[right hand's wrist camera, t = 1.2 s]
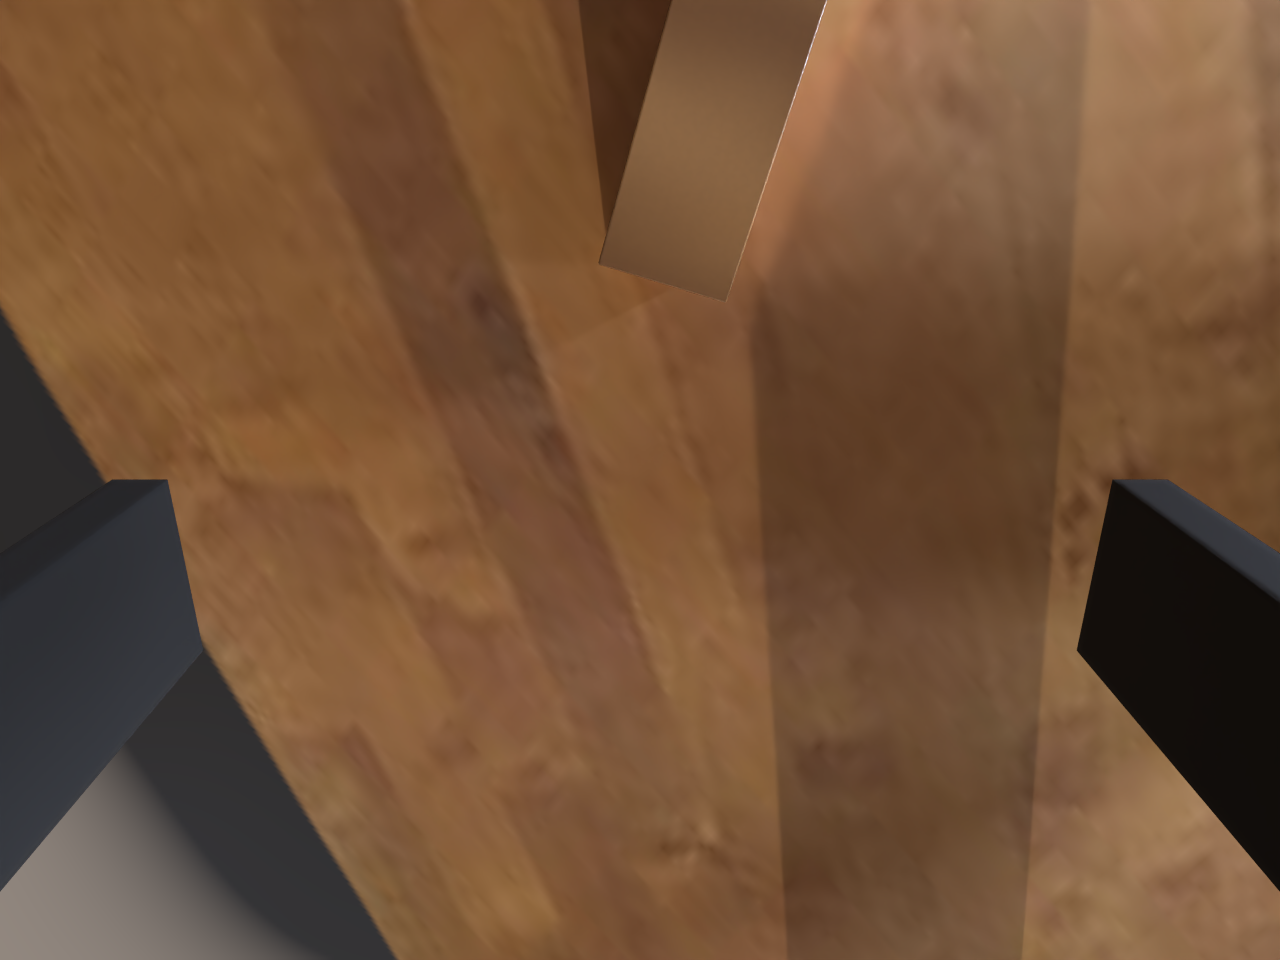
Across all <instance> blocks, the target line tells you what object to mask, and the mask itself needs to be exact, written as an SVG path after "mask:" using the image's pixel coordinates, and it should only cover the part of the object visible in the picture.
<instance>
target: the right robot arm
mask: <svg viewBox="0 0 1280 960" xmlns="http://www.w3.org/2000/svg"><path fill="white" fill-rule="evenodd" d="M202 651H203V647H202V642H201V637H200V633H199V628H198V623H197V618H196V614H195V609H194V604H193V599H192V594H191V590H190V585H189V580H188V575H187V571H186V566H185V561H184V556H183V552H182V547H181V542H180V537H179V532H178V528H177V523H176V518H175V513H174V509H173V504H172V499H171V494H170V489H169V485H168V480H111V481H109V482H108V483H106V484H105V485H103V486H102V487H100V488H99V489H97V490H96V491H94V492H93V493H91V494H90V495H88V496H87V497H85V498H84V499H82V500H81V501H79V502H78V503H76V504H75V505H73V506H72V507H70V508H68V509H67V510H65V511H64V512H62V513H61V514H59V515H58V516H56V517H55V518H53V519H52V520H50V521H49V522H47V523H46V524H44V525H43V526H41V527H40V528H38V529H37V530H35V531H34V532H32V533H31V534H29V535H27V536H26V537H24V538H23V539H21V540H20V541H18V542H17V543H15V544H14V545H12V546H11V547H9V548H8V549H6V550H5V551H3V552H2V553H0V891H1V890H2V889H3V888H4V886H5V885H6V884H7V883H8V881H9V880H10V879H11V878H12V877H13V876H14V874H15V873H16V872H17V871H18V870H19V869H20V867H21V866H22V865H23V864H24V863H25V861H26V860H27V859H28V858H29V857H30V855H31V854H32V853H33V852H34V851H35V850H36V848H37V847H38V846H39V845H40V844H41V842H42V841H43V840H44V839H45V838H46V836H47V835H48V834H49V833H50V832H51V830H52V829H53V828H54V827H55V826H56V825H57V823H58V822H59V821H60V820H61V819H62V817H63V816H64V815H65V814H66V813H67V812H68V810H69V809H70V808H71V807H72V806H73V804H74V803H75V802H76V801H77V800H78V798H79V797H80V796H81V795H82V794H83V793H84V791H85V790H86V789H87V788H88V787H89V785H90V784H91V783H92V782H93V781H94V780H95V778H96V777H97V776H98V775H99V774H100V772H101V771H102V770H103V769H104V768H105V766H106V765H107V764H108V763H109V762H110V761H111V759H112V758H113V757H114V756H115V754H116V753H117V752H118V751H119V750H120V749H121V747H122V746H123V745H124V744H125V743H126V742H127V740H128V739H129V738H130V737H131V736H132V734H133V733H134V732H135V731H136V730H137V728H138V727H139V726H140V725H141V724H142V723H143V721H144V720H145V719H146V718H147V717H148V715H149V714H150V713H151V712H152V711H153V709H154V708H155V707H156V706H157V705H158V703H159V702H160V701H161V700H162V699H163V698H164V696H165V695H166V694H167V693H168V692H169V690H170V689H171V688H172V687H173V686H174V685H175V683H176V682H177V681H178V680H179V679H180V677H181V676H182V675H183V674H184V673H185V671H186V670H187V669H188V668H189V667H190V666H191V664H192V663H193V662H194V661H195V660H196V658H197V657H198V656H199V655H200V654H201V652H202ZM1077 651H1078V653H1079V654H1080V655H1081V656H1082V657H1083V658H1084V660H1085V661H1086V662H1087V663H1088V664H1089V666H1090V667H1091V668H1092V669H1093V670H1094V671H1095V673H1096V674H1097V675H1098V676H1099V677H1100V679H1101V680H1102V681H1103V682H1104V683H1105V685H1106V686H1107V687H1108V688H1109V689H1110V690H1111V692H1112V693H1113V694H1114V695H1115V696H1116V698H1117V699H1118V700H1119V701H1120V702H1121V704H1122V705H1123V706H1124V707H1125V708H1126V709H1127V711H1128V712H1129V713H1130V714H1131V715H1132V717H1133V718H1134V719H1135V720H1136V721H1137V723H1138V724H1139V725H1140V726H1141V727H1142V728H1143V730H1144V731H1145V732H1146V733H1147V734H1148V736H1149V737H1150V738H1151V739H1152V740H1153V742H1154V743H1155V744H1156V745H1157V746H1158V747H1159V749H1160V750H1161V751H1162V752H1163V753H1164V755H1165V756H1166V757H1167V758H1168V759H1169V761H1170V762H1171V763H1172V764H1173V765H1174V766H1175V768H1176V769H1177V770H1178V771H1179V772H1180V774H1181V775H1182V776H1183V777H1184V778H1185V780H1186V781H1187V782H1188V783H1189V784H1190V785H1191V787H1192V788H1193V789H1194V790H1195V791H1196V793H1197V794H1198V795H1199V796H1200V797H1201V798H1202V800H1203V801H1204V802H1205V803H1206V804H1207V806H1208V807H1209V808H1210V809H1211V810H1212V812H1213V813H1214V814H1215V815H1216V816H1217V817H1218V819H1219V820H1220V821H1221V822H1222V823H1223V825H1224V826H1225V827H1226V828H1227V829H1228V831H1229V832H1230V833H1231V834H1232V835H1233V836H1234V838H1235V839H1236V840H1237V841H1238V842H1239V844H1240V845H1241V846H1242V847H1243V848H1244V850H1245V851H1246V852H1247V853H1248V854H1249V855H1250V857H1251V858H1252V859H1253V860H1254V861H1255V863H1256V864H1257V865H1258V866H1259V867H1260V869H1261V870H1262V871H1263V872H1264V873H1265V874H1266V876H1267V877H1268V878H1269V879H1270V880H1271V882H1272V883H1273V884H1274V885H1275V886H1276V888H1277V889H1278V890H1279V891H1280V553H1278V552H1277V551H1275V550H1274V549H1272V548H1271V547H1269V546H1268V545H1266V544H1265V543H1263V542H1262V541H1260V540H1259V539H1257V538H1256V537H1254V536H1253V535H1251V534H1249V533H1248V532H1246V531H1245V530H1243V529H1242V528H1240V527H1239V526H1237V525H1236V524H1234V523H1233V522H1231V521H1230V520H1228V519H1227V518H1225V517H1224V516H1222V515H1221V514H1219V513H1218V512H1216V511H1215V510H1213V509H1212V508H1210V507H1208V506H1207V505H1205V504H1204V503H1202V502H1201V501H1199V500H1198V499H1196V498H1195V497H1193V496H1192V495H1190V494H1189V493H1187V492H1186V491H1184V490H1183V489H1181V488H1180V487H1178V486H1177V485H1175V484H1174V483H1172V482H1171V481H1169V480H1112V485H1111V489H1110V494H1109V499H1108V504H1107V509H1106V513H1105V518H1104V523H1103V528H1102V532H1101V537H1100V542H1099V547H1098V552H1097V556H1096V561H1095V566H1094V571H1093V575H1092V580H1091V585H1090V590H1089V594H1088V599H1087V604H1086V609H1085V614H1084V618H1083V623H1082V628H1081V633H1080V637H1079V642H1078V647H1077Z"/></svg>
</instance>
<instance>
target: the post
mask: <svg viewBox="0 0 1280 960" xmlns="http://www.w3.org/2000/svg"><path fill="white" fill-rule="evenodd" d="M826 3H827V0H671V2H670V6H669V9H668V13H667V17H666V20H665V24H664V28H663V31H662V35H661V38H660V42H659V46H658V49H657V53H656V56H655V60H654V64H653V67H652V71H651V75H650V78H649V82H648V85H647V89H646V93H645V96H644V100H643V103H642V107H641V111H640V114H639V118H638V122H637V125H636V129H635V132H634V136H633V140H632V143H631V147H630V150H629V154H628V158H627V161H626V165H625V169H624V172H623V176H622V179H621V183H620V187H619V190H618V194H617V198H616V201H615V205H614V208H613V212H612V216H611V219H610V223H609V226H608V230H607V234H606V237H605V241H604V245H603V248H602V252H601V255H600V259H599V265H602V266H605V267H609V268H612V269H615V270H618V271H622V272H625V273H628V274H632V275H635V276H638V277H642V278H645V279H648V280H652V281H655V282H658V283H661V284H665V285H668V286H671V287H675V288H678V289H681V290H685V291H688V292H691V293H694V294H698V295H701V296H704V297H708V298H711V299H714V300H718V301H721V302H724V303H725V302H727V299H728V296H729V293H730V290H731V287H732V284H733V281H734V278H735V275H736V272H737V269H738V266H739V263H740V260H741V257H742V254H743V251H744V248H745V245H746V242H747V239H748V236H749V233H750V230H751V227H752V224H753V221H754V218H755V215H756V212H757V209H758V206H759V203H760V200H761V197H762V194H763V191H764V188H765V185H766V182H767V179H768V176H769V173H770V171H771V168H772V165H773V162H774V159H775V156H776V153H777V150H778V147H779V144H780V141H781V138H782V135H783V132H784V129H785V126H786V123H787V120H788V117H789V114H790V111H791V108H792V105H793V102H794V99H795V96H796V93H797V90H798V87H799V84H800V81H801V78H802V75H803V72H804V69H805V66H806V63H807V60H808V57H809V54H810V51H811V48H812V45H813V42H814V39H815V36H816V33H817V30H818V27H819V24H820V21H821V18H822V15H823V12H824V9H825V6H826Z"/></svg>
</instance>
